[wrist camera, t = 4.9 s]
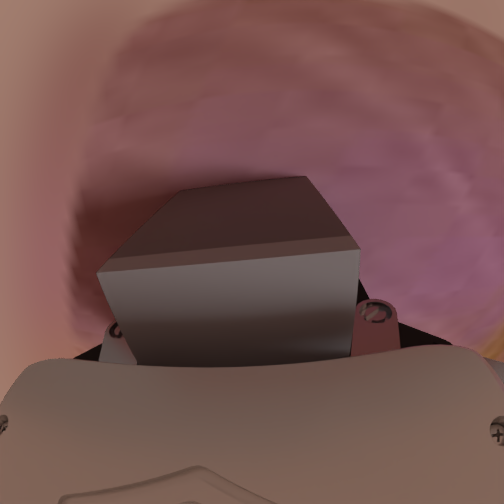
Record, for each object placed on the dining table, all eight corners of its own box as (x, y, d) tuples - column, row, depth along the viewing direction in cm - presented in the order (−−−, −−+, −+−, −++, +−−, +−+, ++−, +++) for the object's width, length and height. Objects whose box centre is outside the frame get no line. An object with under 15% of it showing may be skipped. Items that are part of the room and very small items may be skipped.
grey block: (306, 175, 10) (360, 249, 5) (310, 333, 14) (329, 447, 8) (180, 190, 11) (95, 273, 5) (216, 340, 14) (195, 451, 8)
